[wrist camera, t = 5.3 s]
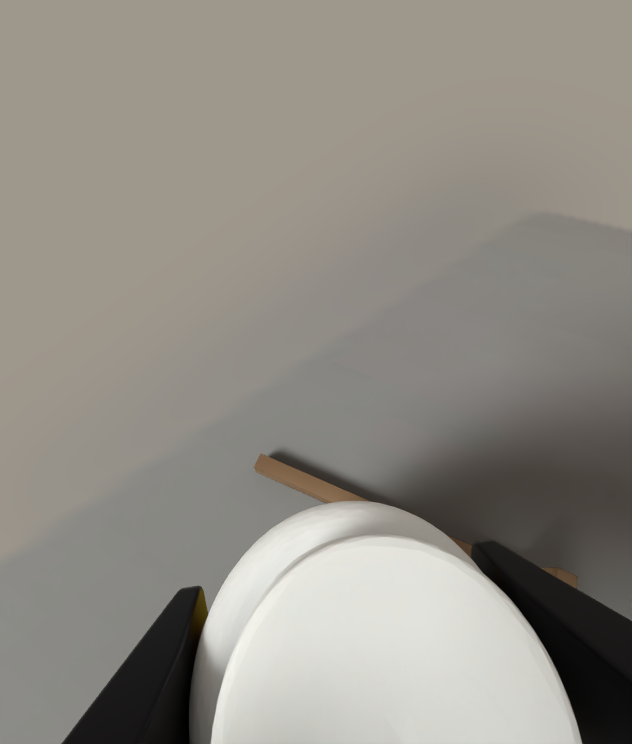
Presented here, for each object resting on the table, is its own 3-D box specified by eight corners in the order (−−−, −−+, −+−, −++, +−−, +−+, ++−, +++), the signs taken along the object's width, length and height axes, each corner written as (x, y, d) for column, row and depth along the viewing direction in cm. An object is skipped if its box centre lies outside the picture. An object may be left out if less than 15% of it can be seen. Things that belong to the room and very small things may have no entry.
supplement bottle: (213, 654, 12) (-32, 898, 3) (302, 505, 14) (311, 398, 6) (359, 774, 11) (663, 1740, 2) (430, 589, 13) (707, 626, 4)
